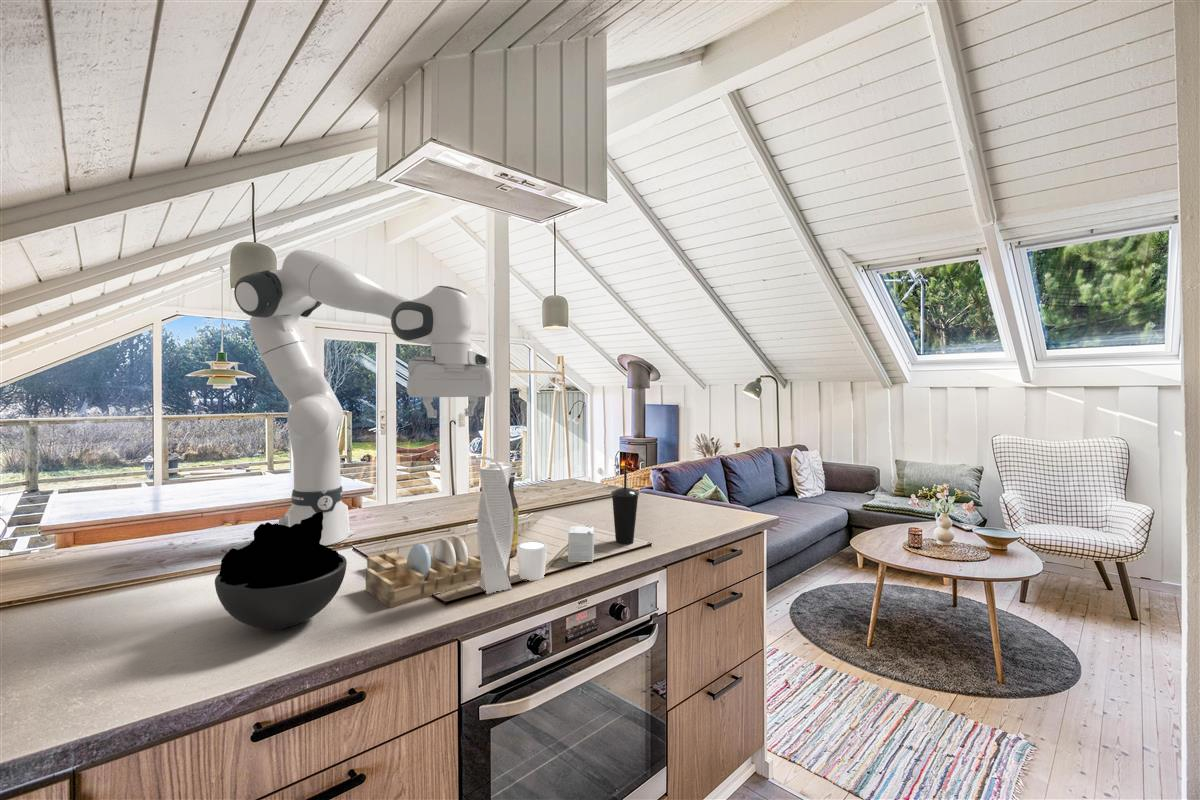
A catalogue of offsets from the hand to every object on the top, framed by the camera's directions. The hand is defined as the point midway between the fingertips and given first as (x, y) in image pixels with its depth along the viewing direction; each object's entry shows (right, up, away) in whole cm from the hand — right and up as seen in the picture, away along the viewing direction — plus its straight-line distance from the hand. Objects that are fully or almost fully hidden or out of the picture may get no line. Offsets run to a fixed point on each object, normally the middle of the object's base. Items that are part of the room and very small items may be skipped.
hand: (451, 416), depth 123 cm
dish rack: (-3, -36, -11) cm, 37 cm away
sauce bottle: (+11, -35, +10) cm, 38 cm away
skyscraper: (+12, -36, -11) cm, 40 cm away
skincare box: (+30, -36, +8) cm, 47 cm away
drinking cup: (+41, -35, +22) cm, 58 cm away
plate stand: (-13, -35, -3) cm, 38 cm away
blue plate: (-4, -34, -12) cm, 37 cm away
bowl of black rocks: (-21, -36, -29) cm, 51 cm away
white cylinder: (+19, -36, -4) cm, 41 cm away
